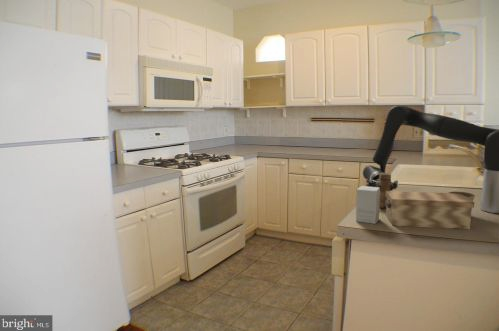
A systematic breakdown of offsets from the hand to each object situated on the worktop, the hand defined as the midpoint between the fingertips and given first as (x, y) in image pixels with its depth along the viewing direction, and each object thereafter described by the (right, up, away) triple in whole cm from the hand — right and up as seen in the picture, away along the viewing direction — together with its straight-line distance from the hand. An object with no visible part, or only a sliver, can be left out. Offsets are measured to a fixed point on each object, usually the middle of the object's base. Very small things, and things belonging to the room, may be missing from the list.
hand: (385, 188), depth 151 cm
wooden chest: (+10, -11, -12) cm, 19 cm away
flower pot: (+27, -11, -7) cm, 30 cm away
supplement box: (-12, -12, -13) cm, 21 cm away
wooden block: (+1, -8, +4) cm, 9 cm away
